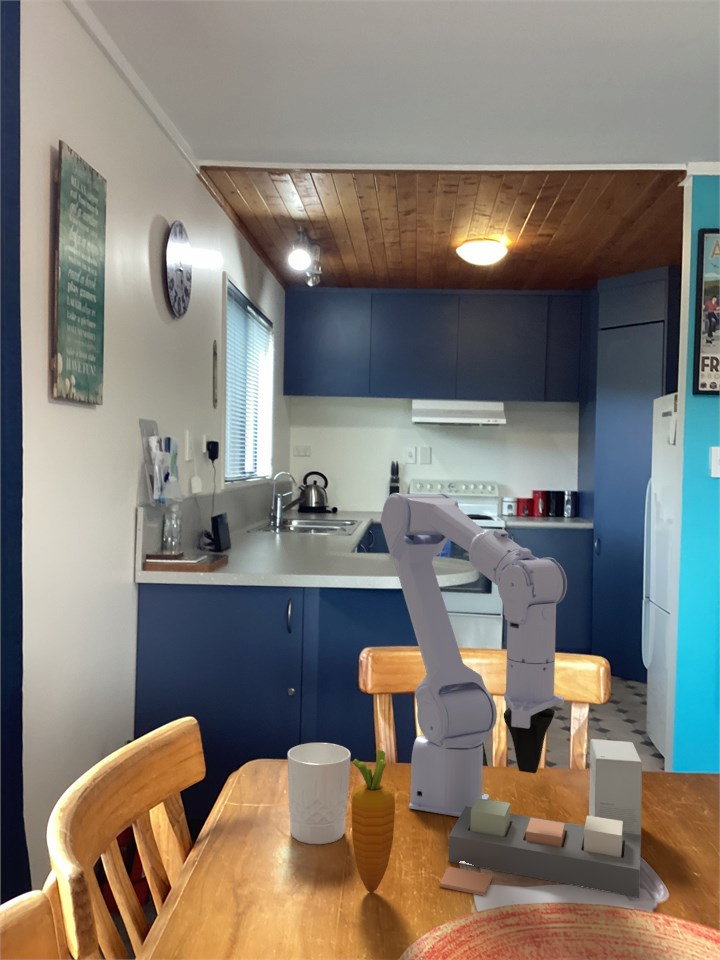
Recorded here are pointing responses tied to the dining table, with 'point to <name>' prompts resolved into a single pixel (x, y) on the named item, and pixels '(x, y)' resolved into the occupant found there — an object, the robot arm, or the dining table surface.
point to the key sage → (490, 817)
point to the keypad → (548, 856)
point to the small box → (616, 783)
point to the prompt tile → (466, 880)
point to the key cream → (603, 836)
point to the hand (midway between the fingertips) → (528, 770)
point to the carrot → (372, 823)
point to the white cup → (318, 791)
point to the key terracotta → (546, 832)
